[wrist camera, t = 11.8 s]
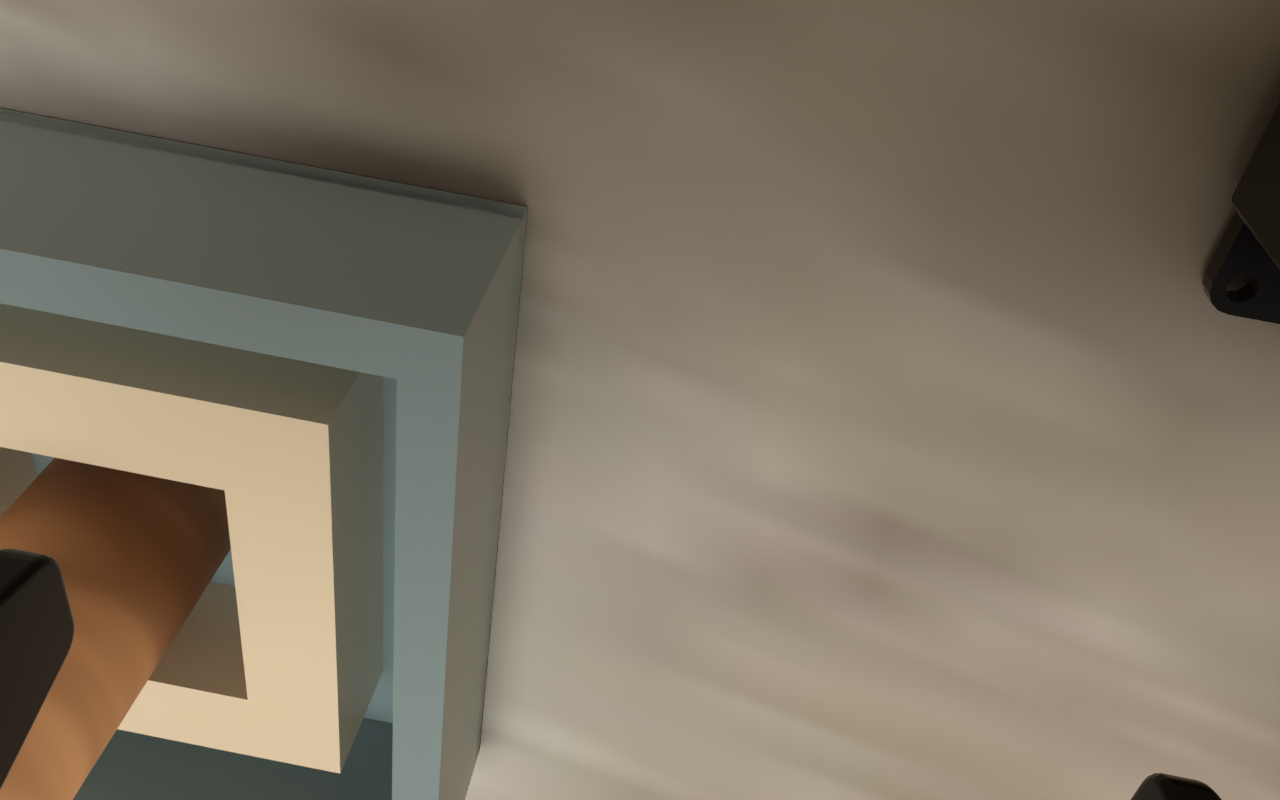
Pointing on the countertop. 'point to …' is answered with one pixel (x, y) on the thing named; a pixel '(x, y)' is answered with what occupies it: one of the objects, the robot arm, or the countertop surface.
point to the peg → (108, 601)
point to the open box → (275, 443)
